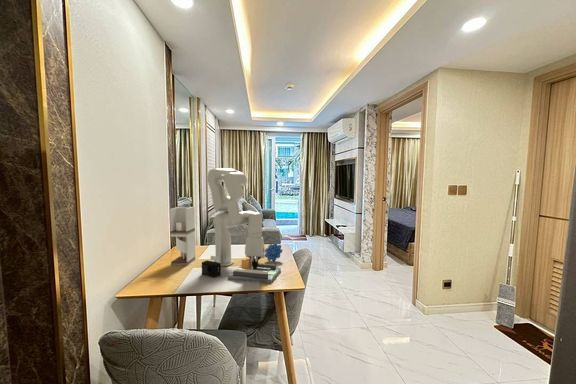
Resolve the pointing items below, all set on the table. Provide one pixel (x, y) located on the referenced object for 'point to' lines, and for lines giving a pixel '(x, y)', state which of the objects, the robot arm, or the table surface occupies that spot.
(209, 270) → the digital camera
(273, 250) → the grapes
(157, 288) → the table surface
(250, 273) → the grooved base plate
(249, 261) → the toggle
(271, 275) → the panel
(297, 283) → the table surface
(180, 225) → the display case
